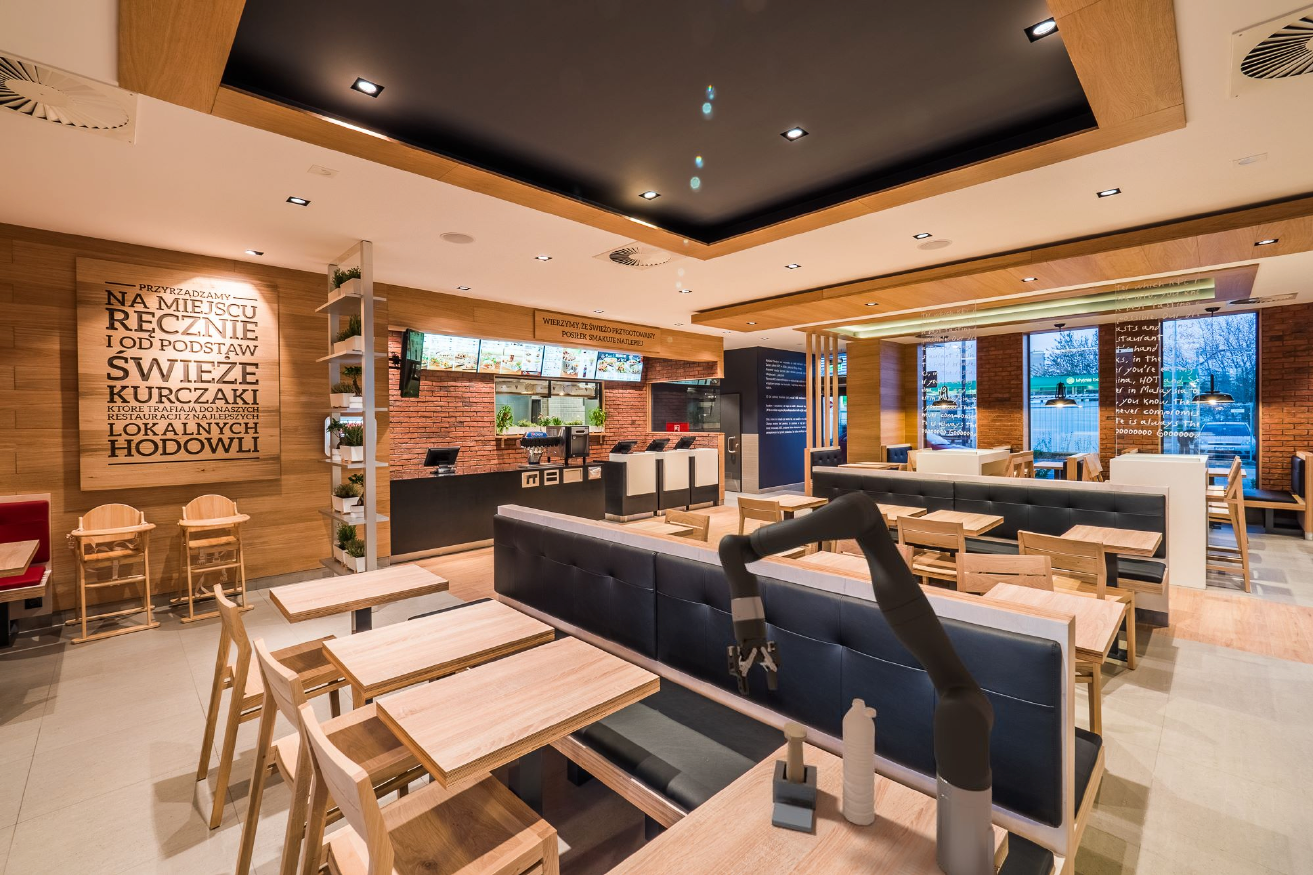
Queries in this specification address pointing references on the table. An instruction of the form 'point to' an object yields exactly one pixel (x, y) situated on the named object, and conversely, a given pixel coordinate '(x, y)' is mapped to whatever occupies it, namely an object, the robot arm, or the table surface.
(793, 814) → the rubber mat
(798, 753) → the handle
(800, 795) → the socket block
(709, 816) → the table surface
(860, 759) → the water bottle
